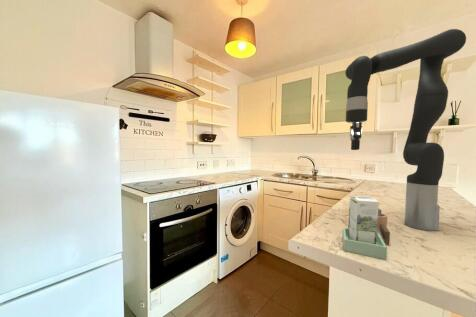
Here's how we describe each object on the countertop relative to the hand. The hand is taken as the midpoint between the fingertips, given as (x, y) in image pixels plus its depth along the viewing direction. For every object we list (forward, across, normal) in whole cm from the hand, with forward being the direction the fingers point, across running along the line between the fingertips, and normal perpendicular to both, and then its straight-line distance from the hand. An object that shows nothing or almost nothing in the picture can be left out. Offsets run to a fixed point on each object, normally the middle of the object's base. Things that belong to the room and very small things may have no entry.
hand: (354, 149), depth 81 cm
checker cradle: (+30, -14, -3) cm, 33 cm away
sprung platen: (+28, -14, -3) cm, 32 cm away
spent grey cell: (+30, -5, -7) cm, 31 cm away
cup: (+30, -5, -7) cm, 31 cm away
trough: (+30, -24, -1) cm, 38 cm away
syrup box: (+29, -24, -1) cm, 38 cm away
